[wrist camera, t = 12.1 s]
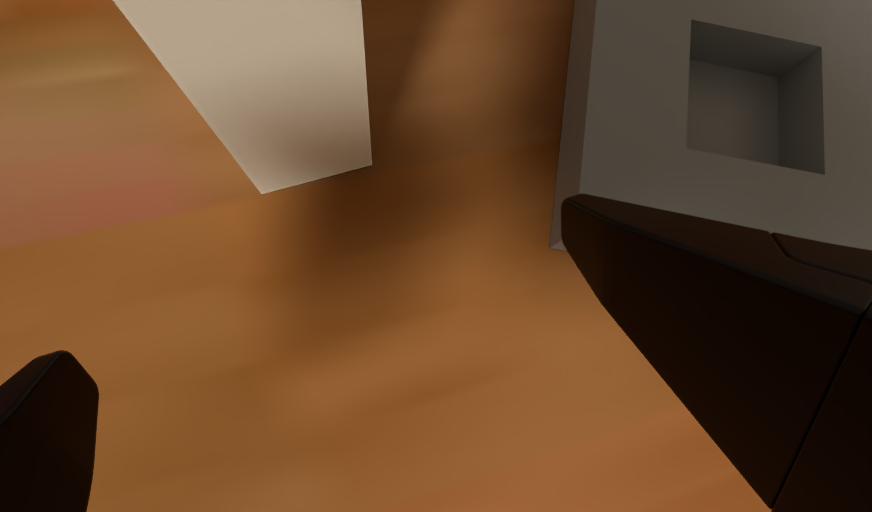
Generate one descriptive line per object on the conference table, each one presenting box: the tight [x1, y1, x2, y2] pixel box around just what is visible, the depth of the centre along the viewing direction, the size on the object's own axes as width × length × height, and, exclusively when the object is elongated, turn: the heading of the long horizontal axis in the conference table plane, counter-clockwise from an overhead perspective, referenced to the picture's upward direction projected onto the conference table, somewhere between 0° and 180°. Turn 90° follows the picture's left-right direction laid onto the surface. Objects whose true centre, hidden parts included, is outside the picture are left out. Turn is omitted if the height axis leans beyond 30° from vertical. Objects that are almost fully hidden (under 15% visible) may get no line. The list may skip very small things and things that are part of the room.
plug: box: [113, 0, 372, 194], centre depth 12 cm, size 4×4×11 cm
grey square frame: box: [549, 0, 872, 251], centre depth 18 cm, size 12×12×2 cm
